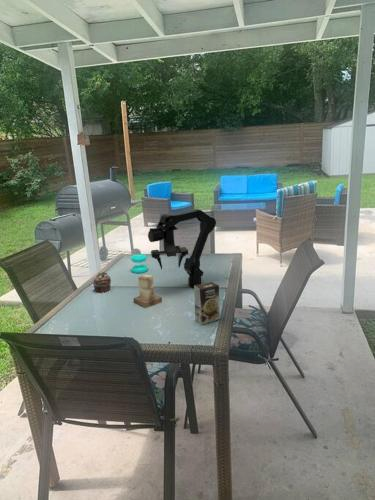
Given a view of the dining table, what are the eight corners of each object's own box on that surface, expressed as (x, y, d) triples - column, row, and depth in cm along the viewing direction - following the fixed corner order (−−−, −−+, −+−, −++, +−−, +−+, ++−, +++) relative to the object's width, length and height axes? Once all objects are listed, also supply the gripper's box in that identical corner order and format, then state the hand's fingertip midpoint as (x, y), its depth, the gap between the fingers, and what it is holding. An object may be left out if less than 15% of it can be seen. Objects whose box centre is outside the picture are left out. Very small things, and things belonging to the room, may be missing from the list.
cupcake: (105, 286, 221) (103, 269, 218) (115, 289, 214) (113, 272, 211) (90, 290, 214) (88, 273, 212) (99, 294, 208) (97, 276, 205)
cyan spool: (127, 257, 241) (137, 253, 249) (128, 272, 244) (138, 268, 252) (139, 258, 236) (150, 254, 244) (141, 274, 238) (151, 270, 247)
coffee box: (202, 325, 166) (200, 289, 162) (195, 319, 171) (193, 285, 167) (220, 320, 170) (219, 285, 166) (212, 315, 175) (211, 281, 171)
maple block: (146, 295, 196) (145, 274, 194) (154, 297, 193) (152, 275, 191) (140, 298, 192) (138, 277, 190) (147, 300, 189) (145, 278, 187)
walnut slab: (150, 298, 201) (149, 292, 200) (162, 303, 193) (161, 297, 192) (133, 303, 194) (133, 298, 194) (145, 309, 187) (144, 303, 186)
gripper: (152, 244, 190) (154, 274, 194) (189, 240, 194) (191, 270, 198) (149, 239, 201) (151, 268, 205) (185, 236, 204) (186, 264, 208)
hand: (170, 268), depth 203 cm, fingers open, 9 cm apart
